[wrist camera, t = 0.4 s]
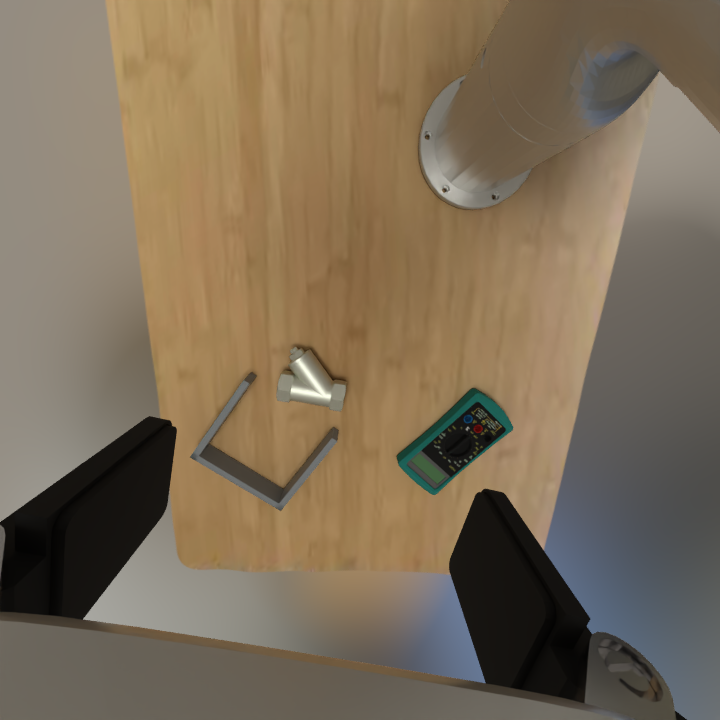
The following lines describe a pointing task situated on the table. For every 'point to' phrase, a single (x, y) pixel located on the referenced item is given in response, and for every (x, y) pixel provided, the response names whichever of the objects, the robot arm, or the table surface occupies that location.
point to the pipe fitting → (310, 382)
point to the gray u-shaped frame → (247, 476)
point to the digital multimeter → (454, 441)
